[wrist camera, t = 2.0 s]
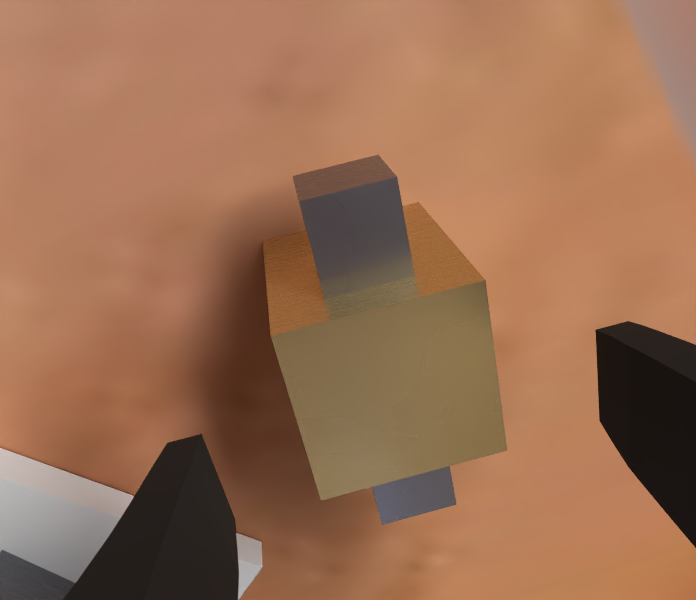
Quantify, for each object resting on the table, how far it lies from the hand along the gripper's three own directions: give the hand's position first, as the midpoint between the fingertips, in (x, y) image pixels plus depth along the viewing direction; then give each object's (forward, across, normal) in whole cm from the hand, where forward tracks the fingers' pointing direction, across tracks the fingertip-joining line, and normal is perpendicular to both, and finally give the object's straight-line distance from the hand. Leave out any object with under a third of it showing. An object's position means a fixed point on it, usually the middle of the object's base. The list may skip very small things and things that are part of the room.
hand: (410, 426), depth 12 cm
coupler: (+6, 0, 0) cm, 6 cm away
